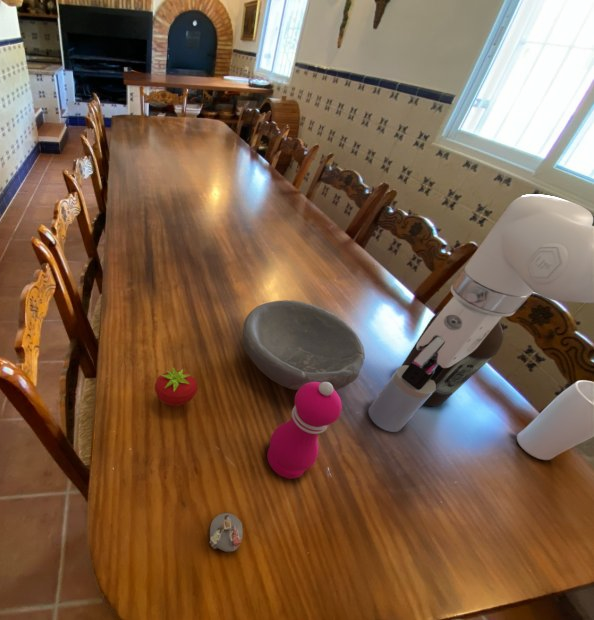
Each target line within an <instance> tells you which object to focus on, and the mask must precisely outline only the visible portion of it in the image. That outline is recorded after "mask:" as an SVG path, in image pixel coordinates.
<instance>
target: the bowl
mask: <svg viewBox="0 0 594 620" xmlns="http://www.w3.org/2000/svg"><path fill="white" fill-rule="evenodd" d="M242 341H243V346H244V349H245V351H246V353H247V356H248V357H249V358H250V360H251V361H252V363H253V364H254V365H255V367H256V368H257V369H258V370H259V371H260V372H261V373H262V374H263V375H264V376H266V377H267V378H268V379H269V380H271V381H272V382H274V383H276V384H278V385H280V386H281V387H284V388H287V389H290V390H293V391H298V390H299V389H300V388H301V387H302V386H303V385H305V384H307V383H310V382H320V383H322V382H329V383H330V384H331V385H332V386H333V389H334V390H335V391H336V390H340V389H342V388H344V387H346V386H348V385H350V384H352V382H354V381H356V380H357V378H359V375H360V373H361V369H362V367H363V365H364V362H365V357H366V354H365V349H364V345H363V343H362V341H361V339H360V337H359V336H358V334H357V333H356V331H354V330H353V328H352V327H351V326H350V325H349V324H348V323H347V322H345V320H343V319H342V318H340V317H339V316H337V315H335V314H334V313H332V312H331V311H329V310H326V309H324V308H322V307H320V306H317V305H314V304H311V303H306V302H303V301H298V300H284V299H283V300H275V301H269V302H264V303H262V304H260V305H258V306H256V307H255V308H253V309H252V310H251V311H250V312H249V313H248V314H247V316H246V317H245V319H244V321H243V325H242Z"/></svg>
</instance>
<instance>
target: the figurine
mask: <svg viewBox="0 0 594 620" xmlns="http://www.w3.org/2000/svg"><path fill="white" fill-rule="evenodd" d="M209 539H210V541H209V544H210V546H211V548H212V549H214V550H217V549H219V550H220V551H223V552H225V553H229V552H234V551H236V550H237V549H238V548H239V547H240V546H241V543H242V541H243V523H242V521H241V520H240V519H239V518H238V517H237V516H236V515H235V514H233V513H230V512H223V513H220V514H218V515H217V516H215V518H213V520H212V521H211V524H210V528H209Z"/></svg>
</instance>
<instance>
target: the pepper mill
mask: <svg viewBox="0 0 594 620" xmlns="http://www.w3.org/2000/svg"><path fill="white" fill-rule="evenodd" d="M342 409H343V404H342V400H341V397H340V395H339V393H338V392H337V391H336V390H334V389H333V386H332V385H331V384H330V383H329V382H322V383H320V382H310V383H307V384H305V385H303V386H302V387H301V388H300V389H299V390H296V393H295V396H294V406H293V408H292V410H291V417H292V418H291V419H290V420H288V421H286V422H283V423H281V424H280V425H279V426H277V427H276V428H275V429H274V430H273V432H272V434H271V436H270V441H269V447H268V450H267V453H266V456H267V457H266V459H267V461H268V464H269V466H270V467H271V469H272V470H273V472H275V473H276V474H277V475H278V476H281V477H282V478H285V479H290V480H291V479H292V480H293V479H298V478H300V477H301V476H303V474H304V473H305V472H306V470H309V469H310V468H311V467H313V466H314V464H315V463H316V461H317V459H318V456H319V448H320V447H319V441H318V436H319V434H322V433H324V432H325V431H326V430H327V429H328V427H329V426H330V425H332V424H334V423H335V422H336V421H337V420H338V419H339V418H340V416H341V413H342Z"/></svg>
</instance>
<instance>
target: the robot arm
mask: <svg viewBox="0 0 594 620" xmlns="http://www.w3.org/2000/svg"><path fill="white" fill-rule="evenodd" d="M593 224H594V216H593V214H592V213H591V211H589V210H588V209H586V207H585V206H582V205H580V204H578V203H575V202H573V201H570V200H567V199H563V198H560V197H556V196H551V195H547V194H546V195H545V194H525V195H521V196H519V197H517V198H515V199H514V200H512V202H510V204H509V205H508V206H507V207H506V208H505V210H504V211H503V212H502V214H501V215H500V217H499V219H498V220H497V221H496V222H495V224H494V225H493V226H492V228H491V230H490V231H489V232H488V234H487V235H486V237H485V238H484V240H482V242H481V244H480V245H479V246H478V248H477V249H476V251H475V252H474V254H473V255H472V257H470V259H469V261H468V262H467V263H466V265H465V266H464V267H463V269H462V270H461V272H460V273H459V274H458V276H457V277H456V279H455V280H454V282H453V283H452V285H450V293H451V295H452V297H451V299H450V300H449V301H448V302H447V303H446V304H445V306H443V307H442V310H440V311H441V312H440V311H439V312H440V313H439V312H438V313H439V315H438V316H437V317H436V319H435V320H434V321H433V322H432V324H431V325H430V326H429V328H428V329H427V330H426V332H425V333H424V334H423V336H422V337H421V339H420V340H419V342H418V343H417V345H416V348H417V350H418V351H419V350H422V351H421V352H420V353H419V354H418V356H417V357H416V358H415V359H414V360H413V361H412V363H411V364H410V365H409V367H408V368H407V369H406V371H405V372H404V373H403V375H402V378H403V379H404V380H405V381H407V382H408V383H409V384H411V385H412V386H413V387H415V388H416V389H417V390H420V389H422V388H423V386H424V385H425V384H426V383H427V382H428V380H429V379H431V380H435V379H436V378H437V377H438V376H439V375H440V374H441V373H442V371H443V370H444V369H445V368H448V367H451V366H452V365H454V364H456V363H457V362H459V361H460V360H462V359H463V358H465V357H466V356H468V355H469V354H471V353H472V352H473V351H474V350H475V349H476V348H477V347H478V346H479V345H480V344H481V342H482V341H483V340H484V339H485V337H486V336H487V335H488V334H489V332H490V331H491V330H492V329H493V328H494V326H495V325H496V324H497V323H498V321H499V322H500V321H501V319H502V318H508V317H512V316H513V315H514V314H515V313H516V312H517V311H518V310H519V309H520V308H521V307H522V305H524V304H525V302H526V301H527V300H528V299H529V298H530V296H531V295H532V294H533V293H535V294H536V295H539V296H540V297H543V298H546V299H548V300H552V301H557V302H566V303H583V304H585V303H586V304H594V225H593ZM429 360H430V361H431V362H433V364H432V365H431V363H429V362H428V361H429ZM435 369H436V370H435ZM434 370H435V372H434V373H433V371H434Z"/></svg>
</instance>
